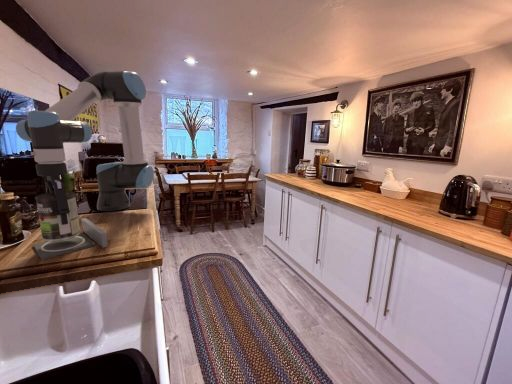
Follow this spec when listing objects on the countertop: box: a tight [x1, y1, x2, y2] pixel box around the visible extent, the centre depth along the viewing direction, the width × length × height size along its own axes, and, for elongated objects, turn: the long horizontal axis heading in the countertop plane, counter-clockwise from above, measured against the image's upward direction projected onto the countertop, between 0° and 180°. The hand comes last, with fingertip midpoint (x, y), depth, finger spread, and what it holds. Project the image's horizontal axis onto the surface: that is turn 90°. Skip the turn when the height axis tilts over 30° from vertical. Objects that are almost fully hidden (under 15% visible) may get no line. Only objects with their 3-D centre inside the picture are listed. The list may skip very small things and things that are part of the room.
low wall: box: [80, 217, 109, 249], centre depth 91 cm, size 22×2×5 cm, turn 49°
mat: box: [32, 232, 96, 261], centre depth 84 cm, size 14×14×1 cm
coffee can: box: [34, 191, 81, 242], centre depth 82 cm, size 10×10×14 cm
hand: (61, 229), depth 83 cm, fingers closed on coffee can, 10 cm apart
